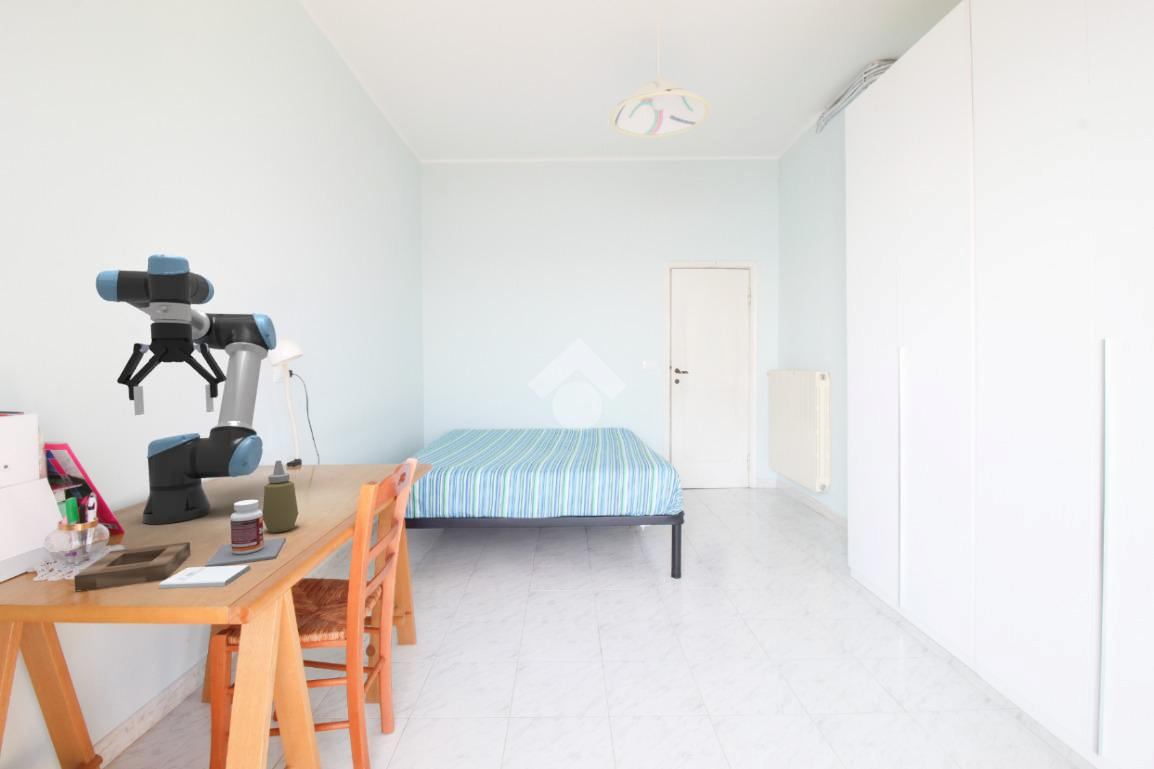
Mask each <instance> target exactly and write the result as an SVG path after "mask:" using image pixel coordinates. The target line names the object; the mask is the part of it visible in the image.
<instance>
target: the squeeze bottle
mask: <svg viewBox="0 0 1154 769" xmlns="http://www.w3.org/2000/svg"><path fill="white" fill-rule="evenodd" d="M283 466H284V465H283V463H282V460H276V461H275V464H274V468H273V473H272V474H269V475H268V477H267V478H268V483H267V484H266V485H265V486H264V493H263V494H264V495H263V505H262V513H263V524H264V525H265V528H266V529H267V532H269V533H283V532H287V531H290V530H292V529H294V527H295V525H296V522H297V518H298V516H299V509H298V502H297V501H298V500H297V496H296V489H295V484H294V482H292V480H290V479H291V478H290V473H288V472H285V469H284V467H283Z"/></svg>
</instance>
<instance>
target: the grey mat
mask: <svg viewBox="0 0 1154 769" xmlns="http://www.w3.org/2000/svg"><path fill="white" fill-rule="evenodd" d="M286 539H287V538H286V537H285V536H284V537H277V538H270V539H269V538H268V539H264V546H263V548H262V549H260V550H258V551H256V552H252V553H248V554H234V553H232V550H231V543H229V544H221V546H220V547H219V548H218V549H217V550H216V552H215V553H214V554H213V555H212V556H211V557H210V558H209V560H208V561H207V562H205V564H204V566H203V567H214V566H233V565H239V564H245V563H252V562H253V561H254V562H259V561H258V560H261V561H267V560H266V559H269V560H276V559H277V557H278V555H279V553H280V551H281V549H282V548H281V547H283V545H284V544H285V542H286ZM275 558H276V559H275ZM254 562H253V563H254Z"/></svg>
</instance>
